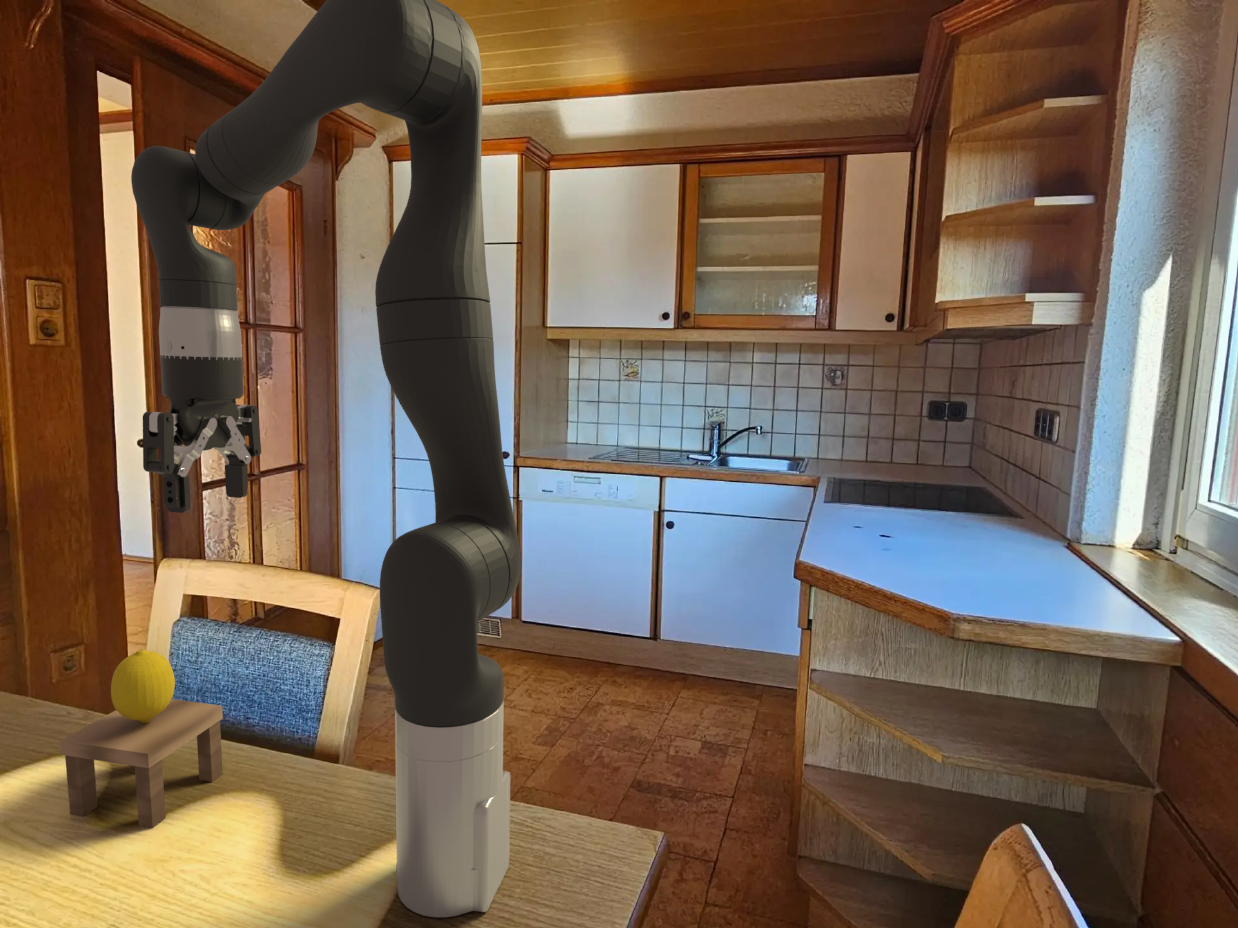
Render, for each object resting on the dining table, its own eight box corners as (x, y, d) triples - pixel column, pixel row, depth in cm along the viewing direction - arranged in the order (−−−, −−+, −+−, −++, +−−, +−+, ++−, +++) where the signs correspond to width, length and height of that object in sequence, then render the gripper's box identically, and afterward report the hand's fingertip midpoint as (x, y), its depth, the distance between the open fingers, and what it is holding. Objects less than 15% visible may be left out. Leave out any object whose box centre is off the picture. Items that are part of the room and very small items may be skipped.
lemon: (145, 739, 72) (141, 663, 71) (99, 731, 73) (94, 656, 72) (189, 713, 78) (185, 642, 76) (145, 706, 79) (141, 636, 78)
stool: (225, 772, 81) (222, 705, 80) (152, 829, 71) (147, 753, 70) (147, 761, 82) (143, 695, 81) (66, 814, 73) (60, 740, 72)
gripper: (181, 353, 69) (190, 520, 71) (277, 355, 82) (282, 494, 85) (113, 351, 70) (124, 515, 72) (219, 352, 84) (225, 490, 86)
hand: (209, 504), depth 79 cm, fingers open, 8 cm apart
